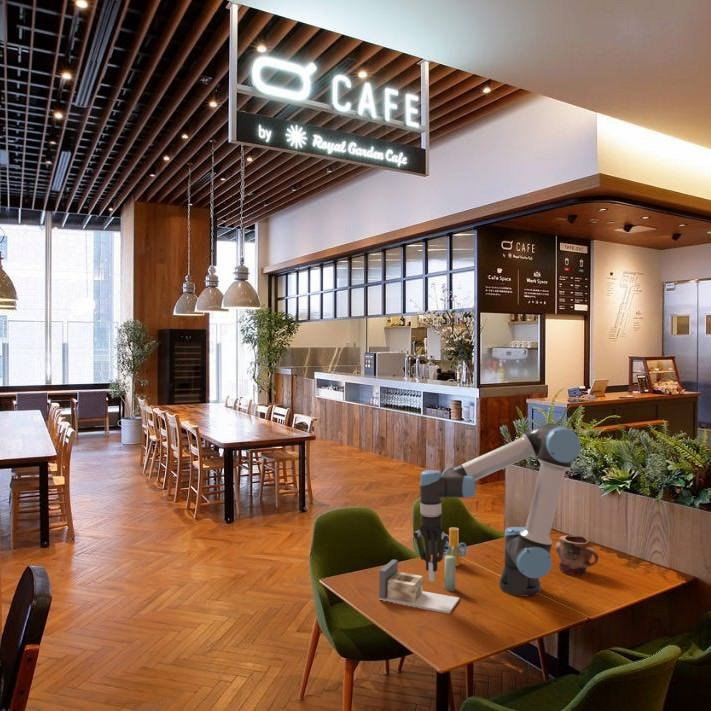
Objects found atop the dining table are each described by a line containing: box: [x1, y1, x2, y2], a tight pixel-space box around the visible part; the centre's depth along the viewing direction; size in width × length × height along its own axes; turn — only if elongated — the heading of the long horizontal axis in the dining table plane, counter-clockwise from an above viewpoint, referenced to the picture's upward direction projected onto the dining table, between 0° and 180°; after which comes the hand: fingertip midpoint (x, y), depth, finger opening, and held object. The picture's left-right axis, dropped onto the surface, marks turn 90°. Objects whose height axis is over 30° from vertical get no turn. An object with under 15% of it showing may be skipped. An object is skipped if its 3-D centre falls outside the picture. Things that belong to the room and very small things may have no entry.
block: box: [387, 571, 424, 602], centre depth 224 cm, size 10×10×6 cm
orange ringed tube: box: [443, 527, 467, 567], centre depth 259 cm, size 12×10×15 cm
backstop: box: [378, 559, 460, 615], centre depth 221 cm, size 26×13×11 cm, turn 65°
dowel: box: [443, 555, 456, 592], centre depth 232 cm, size 4×4×12 cm
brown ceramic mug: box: [554, 534, 599, 577], centre depth 250 cm, size 20×12×14 cm, turn 38°
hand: (431, 579), depth 220 cm, fingers closed
